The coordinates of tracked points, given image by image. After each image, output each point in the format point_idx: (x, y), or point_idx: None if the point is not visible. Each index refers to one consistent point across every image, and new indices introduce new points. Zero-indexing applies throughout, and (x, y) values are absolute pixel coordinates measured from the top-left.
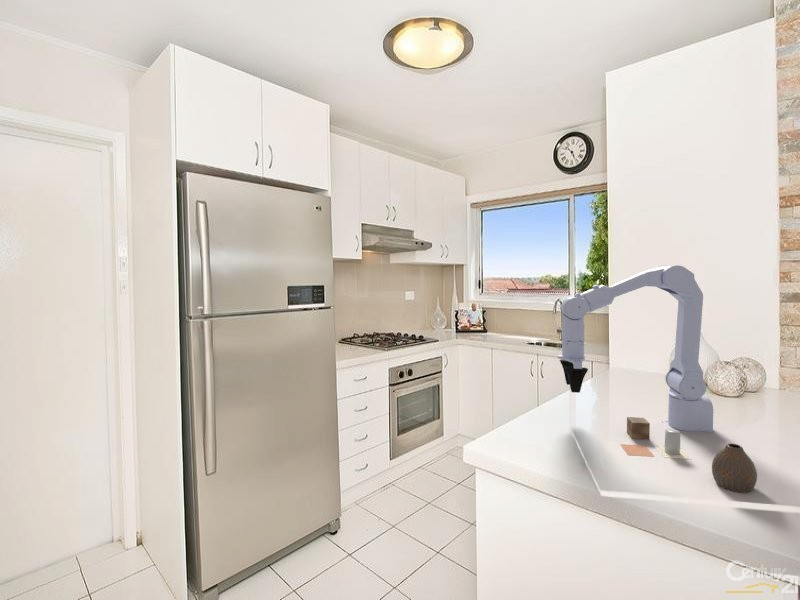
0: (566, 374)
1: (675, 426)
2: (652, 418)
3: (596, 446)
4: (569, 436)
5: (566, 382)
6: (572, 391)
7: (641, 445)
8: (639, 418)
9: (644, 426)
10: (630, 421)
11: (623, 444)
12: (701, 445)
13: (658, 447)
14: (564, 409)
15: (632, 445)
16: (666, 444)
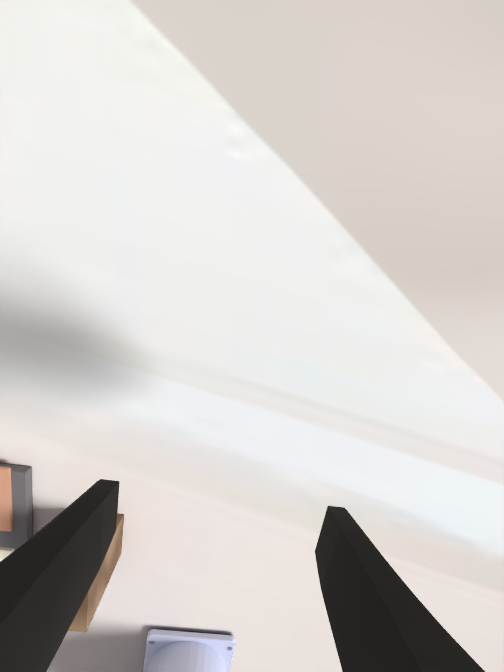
0: (376, 609)
1: (164, 655)
2: (272, 625)
3: (11, 395)
4: (94, 334)
5: (335, 518)
6: (90, 488)
7: (8, 522)
8: (75, 616)
9: None
10: None
11: (7, 478)
12: (72, 646)
13: (3, 557)
14: (391, 407)
15: (4, 499)
16: None
